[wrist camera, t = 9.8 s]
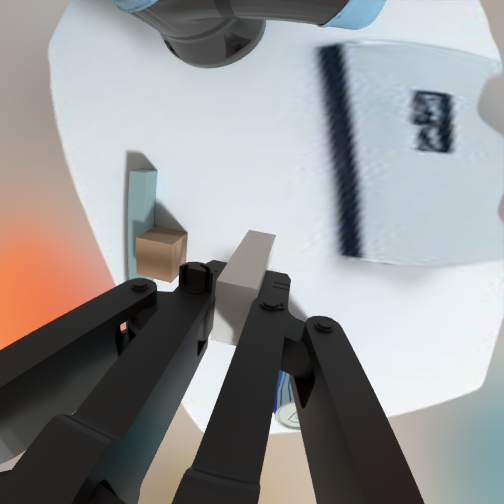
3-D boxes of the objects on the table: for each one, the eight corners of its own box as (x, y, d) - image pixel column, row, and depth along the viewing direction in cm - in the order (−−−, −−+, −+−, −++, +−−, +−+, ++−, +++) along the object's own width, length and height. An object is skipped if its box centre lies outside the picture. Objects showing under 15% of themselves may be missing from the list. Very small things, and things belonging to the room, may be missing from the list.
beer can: (272, 336, 50) (257, 405, 35) (318, 321, 48) (319, 391, 33) (290, 369, 52) (282, 437, 37) (333, 357, 50) (337, 426, 35)
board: (141, 168, 44) (129, 171, 41) (157, 170, 43) (146, 172, 40) (139, 299, 53) (130, 308, 49) (153, 303, 52) (145, 313, 49)
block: (154, 226, 47) (136, 237, 41) (187, 232, 46) (172, 244, 41) (153, 259, 49) (136, 273, 44) (185, 267, 48) (171, 282, 43)
